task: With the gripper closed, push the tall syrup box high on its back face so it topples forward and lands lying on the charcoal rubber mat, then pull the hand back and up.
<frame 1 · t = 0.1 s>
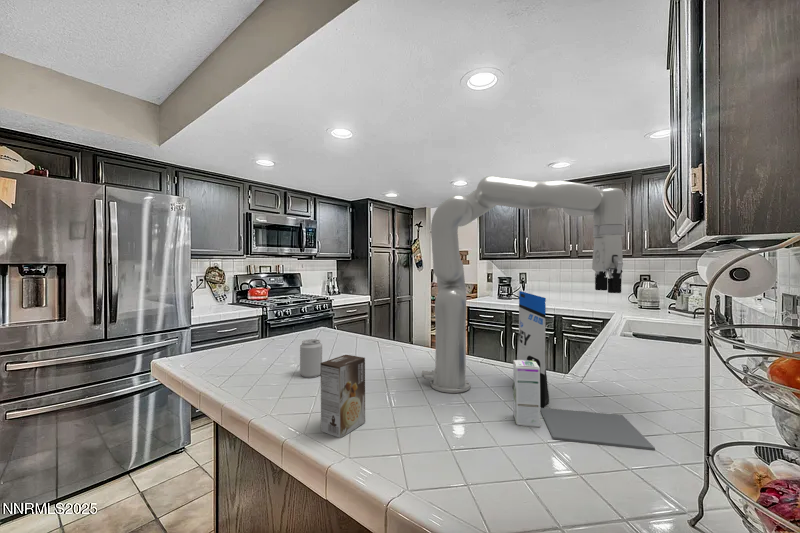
hand: (607, 291, 98), 31 cm above the countertop, tool pointing down, fingers open, 9 cm apart
can: (311, 375, 118), on the countertop
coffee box: (343, 427, 81), on the countertop
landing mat: (590, 427, 81), on the countertop
protein powder: (529, 393, 103), on the countertop
syrup box: (526, 421, 84), on the countertop
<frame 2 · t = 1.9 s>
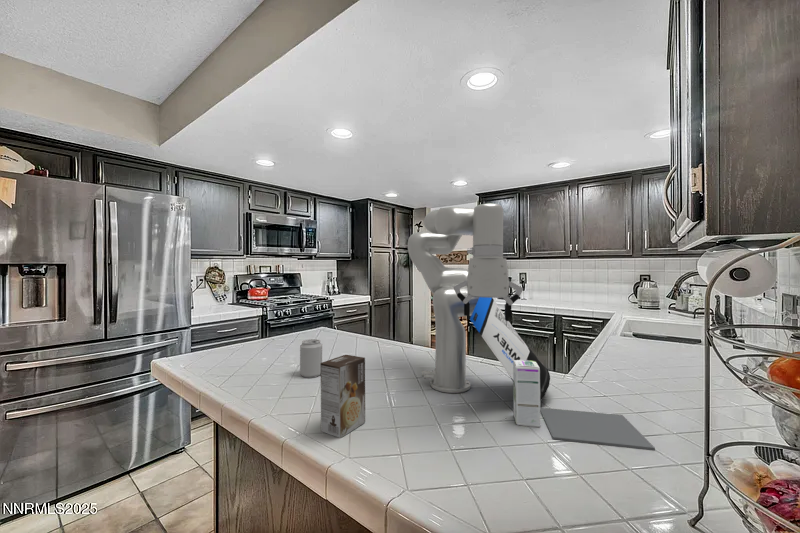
hand: (487, 319, 87), 25 cm above the countertop, tool pointing down, fingers open, 9 cm apart
protein powder: (535, 383, 101), point 4 cm above the countertop, touching arm
everything else where it was.
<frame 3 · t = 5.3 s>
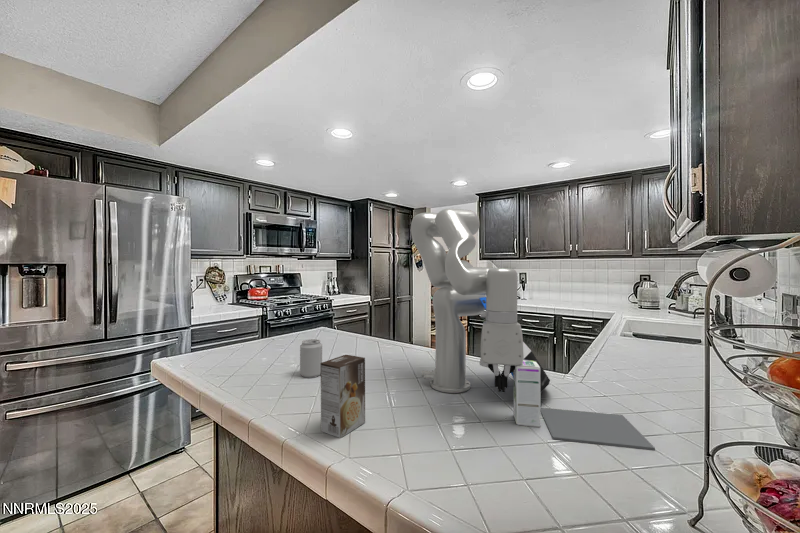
hand: (501, 390, 85), 7 cm above the countertop, tool pointing down, fingers closed
protein powder: (535, 387, 102), point 2 cm above the countertop, touching arm
syrup box: (526, 421, 84), on the countertop, touching gripper
everything else where it was.
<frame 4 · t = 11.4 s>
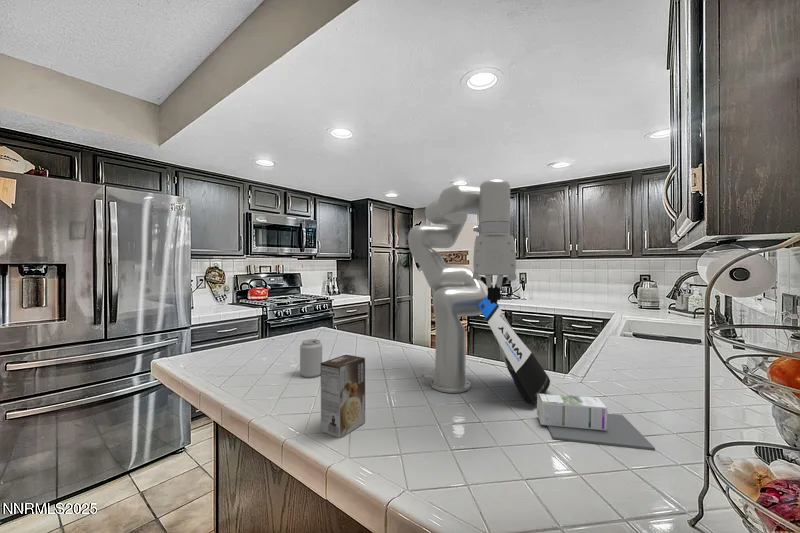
hand: (493, 303, 86), 29 cm above the countertop, tool pointing down, fingers closed
syrup box: (537, 408, 84), point 3 cm above the countertop, touching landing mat
at the end: syrup box tilted 90°; syrup box touching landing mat; syrup box inside the target area (4.8 cm from its centre), point 3.5 cm above the countertop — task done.
